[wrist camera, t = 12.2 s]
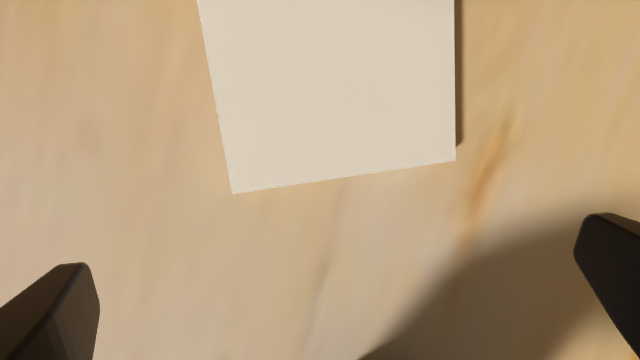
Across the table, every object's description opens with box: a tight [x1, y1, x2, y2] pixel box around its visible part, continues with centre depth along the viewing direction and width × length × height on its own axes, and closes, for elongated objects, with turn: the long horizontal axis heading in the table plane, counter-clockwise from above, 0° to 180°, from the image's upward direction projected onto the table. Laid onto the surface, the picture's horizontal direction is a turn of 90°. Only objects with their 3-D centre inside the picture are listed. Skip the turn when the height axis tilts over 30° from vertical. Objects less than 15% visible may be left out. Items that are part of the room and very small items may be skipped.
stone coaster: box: [197, 0, 456, 194], centre depth 19 cm, size 10×10×1 cm
